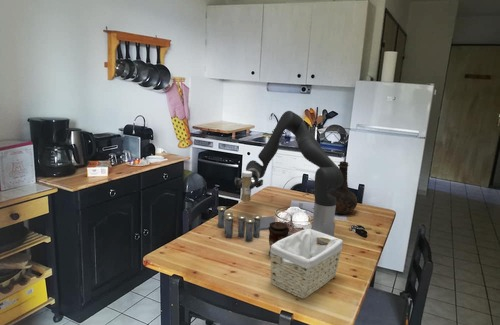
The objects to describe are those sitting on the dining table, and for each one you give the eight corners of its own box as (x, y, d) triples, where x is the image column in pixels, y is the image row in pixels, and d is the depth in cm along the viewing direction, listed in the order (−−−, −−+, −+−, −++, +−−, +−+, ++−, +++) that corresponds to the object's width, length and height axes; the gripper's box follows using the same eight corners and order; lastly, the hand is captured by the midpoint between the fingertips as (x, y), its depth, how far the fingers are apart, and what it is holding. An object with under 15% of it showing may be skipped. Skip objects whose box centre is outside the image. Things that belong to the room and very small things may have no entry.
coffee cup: (262, 251, 150) (264, 221, 148) (280, 248, 154) (282, 219, 151) (272, 261, 143) (274, 230, 140) (290, 258, 146) (293, 227, 143)
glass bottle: (358, 209, 207) (364, 161, 201) (353, 219, 191) (359, 167, 185) (326, 204, 214) (331, 157, 208) (319, 213, 198) (324, 162, 192)
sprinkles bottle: (248, 202, 165) (249, 173, 162) (239, 200, 167) (240, 172, 164) (252, 199, 169) (253, 171, 166) (243, 198, 171) (244, 170, 168)
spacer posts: (264, 240, 161) (266, 220, 158) (229, 244, 155) (230, 223, 153) (247, 222, 180) (248, 204, 178) (215, 225, 174) (216, 206, 172)
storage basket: (303, 261, 144) (306, 226, 141) (341, 277, 134) (345, 239, 131) (265, 284, 126) (268, 244, 123) (305, 304, 116) (309, 261, 113)
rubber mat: (284, 227, 176) (284, 225, 176) (259, 230, 171) (259, 228, 171) (272, 218, 188) (272, 216, 188) (249, 220, 183) (249, 218, 183)
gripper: (237, 168, 180) (230, 177, 164) (266, 170, 178) (261, 180, 162) (236, 183, 182) (229, 193, 166) (265, 185, 180) (260, 196, 164)
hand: (245, 186), depth 164 cm, fingers closed on sprinkles bottle, 4 cm apart
